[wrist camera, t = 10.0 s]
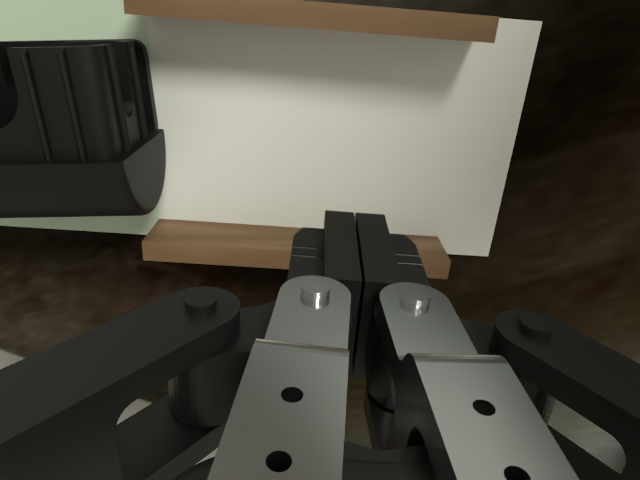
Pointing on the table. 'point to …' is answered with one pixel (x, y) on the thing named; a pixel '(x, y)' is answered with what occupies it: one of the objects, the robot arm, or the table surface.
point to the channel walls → (290, 11)
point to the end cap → (78, 129)
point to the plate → (313, 120)
